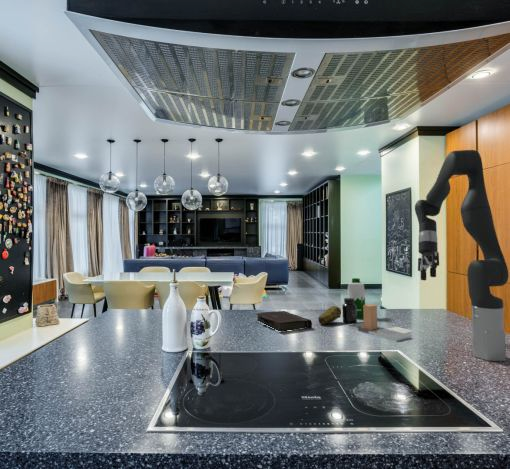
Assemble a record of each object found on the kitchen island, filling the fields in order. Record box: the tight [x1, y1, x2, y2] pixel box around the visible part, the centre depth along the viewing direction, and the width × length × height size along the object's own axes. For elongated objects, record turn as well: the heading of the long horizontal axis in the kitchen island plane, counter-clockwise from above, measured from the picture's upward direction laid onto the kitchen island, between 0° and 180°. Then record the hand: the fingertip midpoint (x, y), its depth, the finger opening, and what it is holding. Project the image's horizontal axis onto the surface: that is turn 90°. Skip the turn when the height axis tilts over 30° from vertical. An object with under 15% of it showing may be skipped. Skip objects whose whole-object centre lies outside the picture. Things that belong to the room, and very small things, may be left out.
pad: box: [387, 326, 414, 334], centre depth 156 cm, size 9×9×1 cm
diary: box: [254, 310, 313, 331], centre depth 173 cm, size 19×25×5 cm
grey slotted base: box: [347, 322, 412, 342], centre depth 152 cm, size 26×9×2 cm, turn 30°
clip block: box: [363, 303, 378, 330], centre depth 156 cm, size 4×4×12 cm
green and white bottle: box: [347, 277, 366, 319], centre depth 188 cm, size 9×9×20 cm
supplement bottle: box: [341, 297, 358, 325], centre depth 175 cm, size 7×7×12 cm
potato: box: [318, 306, 342, 325], centre depth 174 cm, size 8×13×8 cm, turn 104°
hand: (428, 278), depth 152 cm, fingers open, 8 cm apart
